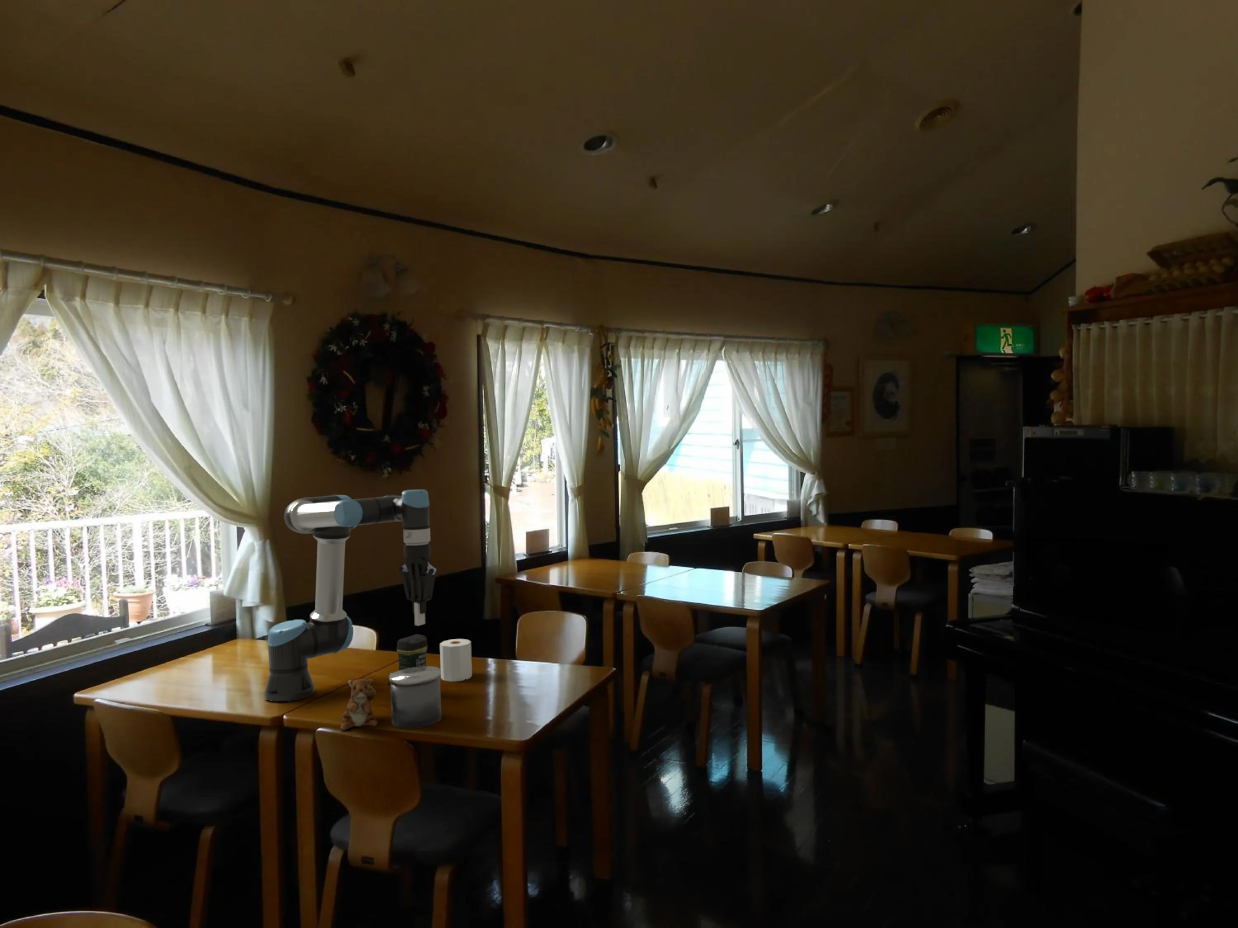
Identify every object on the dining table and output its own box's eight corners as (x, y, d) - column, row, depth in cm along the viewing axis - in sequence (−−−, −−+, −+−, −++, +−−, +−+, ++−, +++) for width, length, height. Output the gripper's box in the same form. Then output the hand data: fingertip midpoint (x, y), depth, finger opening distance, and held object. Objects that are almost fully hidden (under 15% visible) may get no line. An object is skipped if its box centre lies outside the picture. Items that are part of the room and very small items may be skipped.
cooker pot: (377, 723, 235) (376, 682, 235) (411, 708, 248) (409, 669, 247) (419, 731, 228) (417, 689, 228) (451, 715, 241) (449, 675, 240)
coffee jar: (412, 699, 257) (410, 640, 256) (393, 695, 261) (391, 638, 260) (433, 690, 265) (431, 633, 264) (415, 687, 269) (413, 631, 268)
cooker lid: (376, 683, 235) (376, 678, 235) (411, 669, 248) (411, 664, 248) (417, 686, 227) (417, 681, 227) (451, 672, 240) (450, 667, 240)
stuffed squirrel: (340, 732, 229) (338, 686, 229) (343, 715, 243) (342, 672, 243) (376, 728, 232) (375, 682, 231) (378, 712, 245) (377, 669, 245)
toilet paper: (435, 677, 280) (434, 642, 279) (462, 670, 286) (461, 636, 286) (450, 683, 272) (449, 647, 272) (477, 676, 279) (476, 642, 278)
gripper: (390, 544, 234) (393, 625, 235) (425, 545, 228) (428, 629, 229) (408, 540, 241) (411, 619, 242) (443, 542, 235) (446, 623, 236)
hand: (420, 624), depth 236 cm, fingers closed
